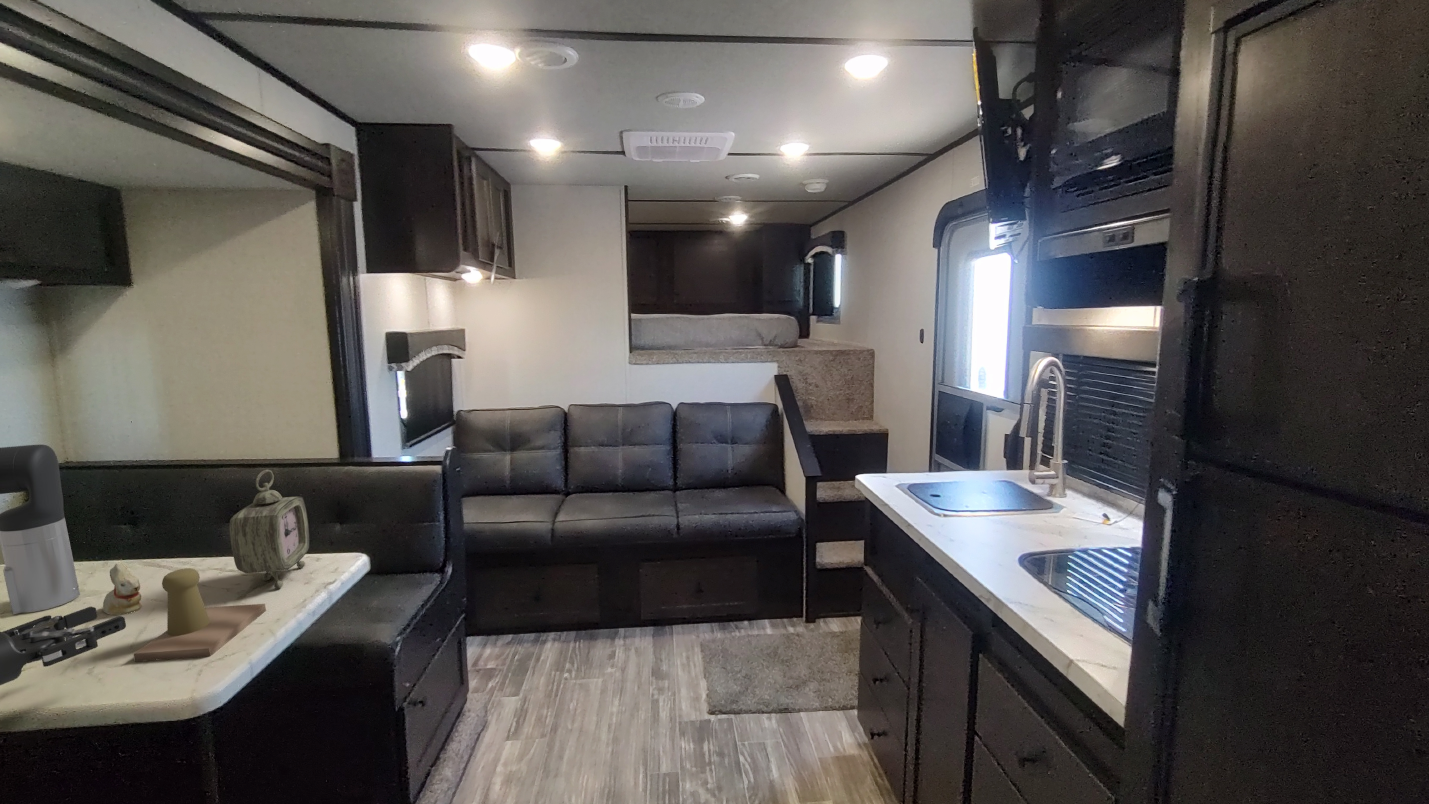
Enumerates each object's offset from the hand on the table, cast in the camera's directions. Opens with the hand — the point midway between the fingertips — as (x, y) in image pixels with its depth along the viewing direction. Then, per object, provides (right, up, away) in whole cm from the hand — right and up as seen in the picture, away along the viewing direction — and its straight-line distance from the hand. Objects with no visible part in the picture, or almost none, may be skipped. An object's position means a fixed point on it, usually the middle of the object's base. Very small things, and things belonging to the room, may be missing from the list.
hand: (109, 616), depth 101 cm
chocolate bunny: (-20, -7, +23) cm, 31 cm away
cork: (+2, -7, +13) cm, 15 cm away
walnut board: (+5, -8, +13) cm, 16 cm away
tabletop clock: (+2, -4, +36) cm, 36 cm away
